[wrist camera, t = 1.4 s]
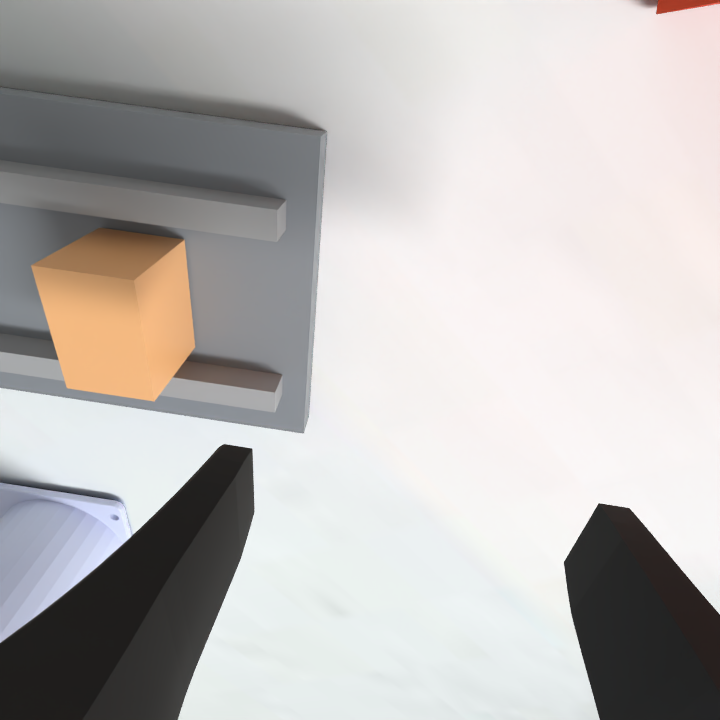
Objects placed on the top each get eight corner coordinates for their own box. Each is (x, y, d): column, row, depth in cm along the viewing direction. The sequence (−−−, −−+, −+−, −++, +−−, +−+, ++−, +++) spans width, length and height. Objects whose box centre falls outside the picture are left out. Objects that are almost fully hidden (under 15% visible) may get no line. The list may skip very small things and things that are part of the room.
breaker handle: (195, 347, 19) (154, 401, 16) (121, 336, 19) (67, 388, 16) (184, 239, 16) (133, 280, 13) (99, 227, 16) (30, 265, 13)
